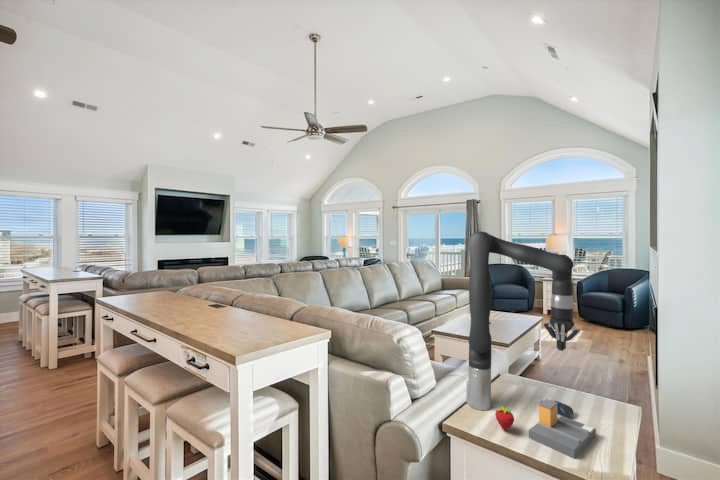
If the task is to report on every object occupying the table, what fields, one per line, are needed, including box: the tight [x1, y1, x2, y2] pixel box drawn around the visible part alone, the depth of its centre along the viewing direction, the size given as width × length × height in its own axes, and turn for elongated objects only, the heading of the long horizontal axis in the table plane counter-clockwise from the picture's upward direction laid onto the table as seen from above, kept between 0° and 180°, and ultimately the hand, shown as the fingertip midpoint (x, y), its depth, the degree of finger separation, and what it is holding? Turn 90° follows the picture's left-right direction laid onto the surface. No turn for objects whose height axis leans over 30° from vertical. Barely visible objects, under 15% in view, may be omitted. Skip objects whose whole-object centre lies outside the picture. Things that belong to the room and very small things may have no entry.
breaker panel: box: [528, 414, 597, 459], centre depth 128 cm, size 15×20×4 cm
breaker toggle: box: [538, 398, 558, 427], centre depth 132 cm, size 4×6×7 cm
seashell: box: [540, 399, 574, 419], centre depth 145 cm, size 6×9×10 cm
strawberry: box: [495, 404, 515, 432], centre depth 133 cm, size 6×8×10 cm
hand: (561, 350), depth 137 cm, fingers closed
